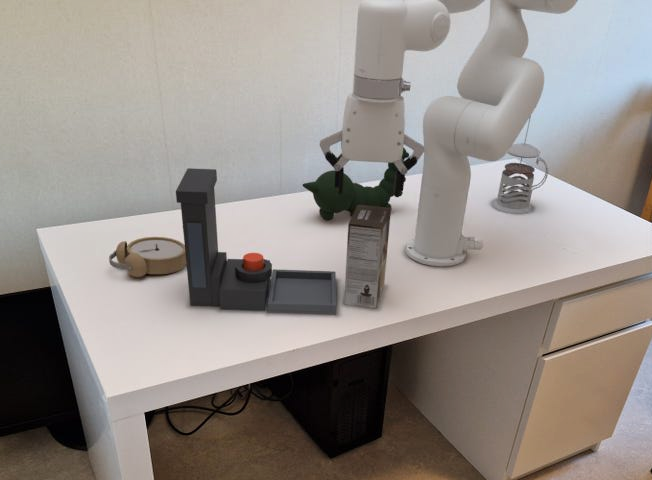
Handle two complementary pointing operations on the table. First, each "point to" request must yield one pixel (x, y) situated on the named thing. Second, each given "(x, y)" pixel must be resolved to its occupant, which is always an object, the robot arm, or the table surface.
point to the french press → (518, 180)
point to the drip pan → (302, 292)
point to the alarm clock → (150, 256)
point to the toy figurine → (352, 192)
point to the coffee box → (366, 255)
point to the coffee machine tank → (201, 236)
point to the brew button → (253, 261)
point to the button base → (244, 286)
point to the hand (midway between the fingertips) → (368, 193)
